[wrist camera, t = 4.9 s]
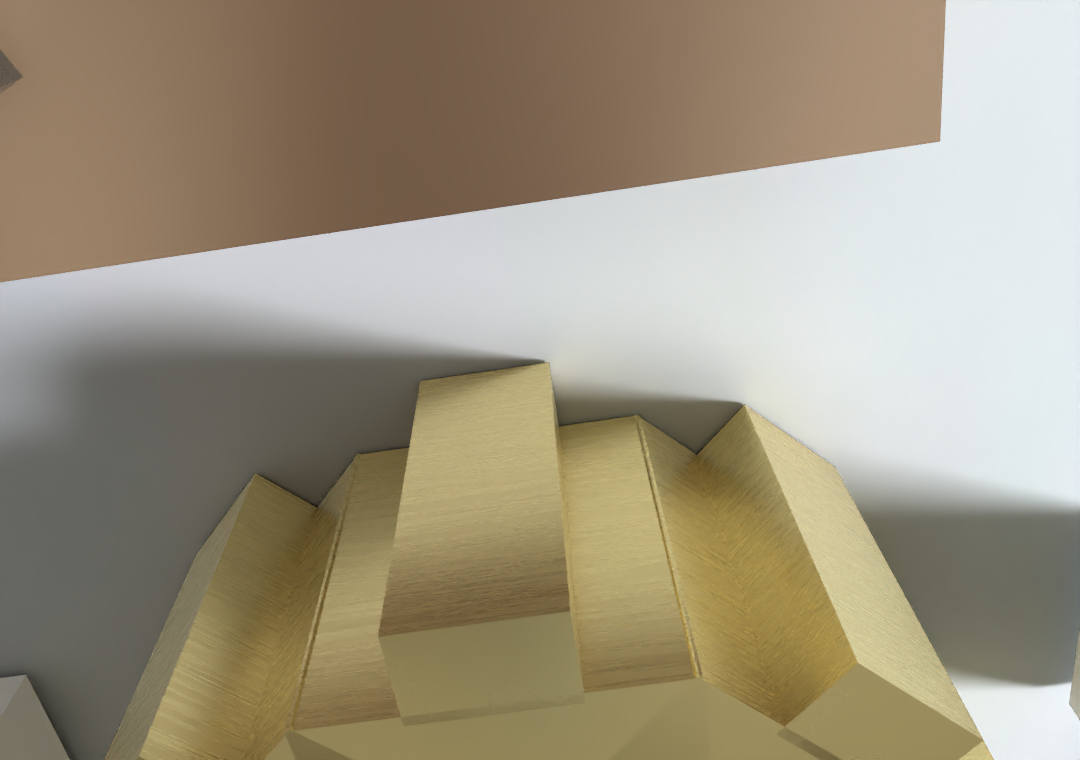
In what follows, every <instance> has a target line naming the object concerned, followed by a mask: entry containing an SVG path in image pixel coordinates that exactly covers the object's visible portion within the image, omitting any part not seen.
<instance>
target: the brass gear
mask: <svg viewBox="0 0 1080 760" xmlns="http://www.w3.org/2000/svg"><path fill="white" fill-rule="evenodd" d="M104 760H994V759H993V757H992V755H991V753H990V752H989V750H988V748H987V746H986V744H985V742H984V741H983V738H982V736H981V735H980V733H979V731H978V729H977V727H976V725H975V724H974V722H973V720H972V718H971V716H970V714H969V713H968V711H967V709H966V707H965V705H964V703H963V702H962V700H961V698H960V696H959V694H958V692H957V690H956V689H955V687H954V685H953V683H952V681H951V679H950V678H949V676H948V674H947V672H946V670H945V668H944V667H943V665H942V663H941V661H940V659H939V657H938V656H937V654H936V652H935V650H934V648H933V646H932V645H931V643H930V641H929V639H928V637H927V635H926V634H925V632H924V630H923V628H922V626H921V624H920V622H919V621H918V619H917V617H916V615H915V613H914V611H913V610H912V608H911V606H910V604H909V602H908V600H907V599H906V597H905V595H904V593H903V591H902V589H901V588H900V586H899V584H898V582H897V580H896V578H895V577H894V575H893V573H892V571H891V569H890V567H889V565H888V564H887V562H886V560H885V558H884V556H883V554H882V553H881V551H880V549H879V547H878V545H877V543H876V542H875V540H874V538H873V536H872V534H871V532H870V531H869V529H868V527H867V525H866V523H865V521H864V520H863V518H862V516H861V514H860V512H859V510H858V508H857V507H856V505H855V503H854V501H853V499H852V497H851V496H850V494H849V492H848V490H847V488H846V486H845V485H844V483H843V481H842V479H841V477H840V475H839V474H838V472H837V470H836V468H835V467H834V466H833V465H831V464H830V463H828V462H827V461H825V460H824V459H822V458H821V457H820V456H818V455H817V454H815V453H814V452H812V451H811V450H809V449H808V448H807V447H805V446H804V445H802V444H801V443H799V442H798V441H796V440H795V439H794V438H792V437H791V436H789V435H788V434H786V433H785V432H783V431H782V430H781V429H779V428H778V427H776V426H775V425H773V424H772V423H770V422H769V421H768V420H766V419H765V418H763V417H762V416H760V415H759V414H758V413H756V412H755V411H753V410H752V409H750V408H749V407H747V406H746V405H745V404H744V405H743V407H742V408H741V409H740V410H739V411H738V412H737V413H736V414H735V415H734V416H733V417H732V418H731V419H730V420H729V421H728V422H727V424H726V425H725V426H724V427H723V428H722V429H721V430H720V431H719V432H718V433H717V434H716V435H715V436H714V437H713V438H712V439H711V440H710V442H709V443H708V444H707V445H706V446H705V447H704V448H703V449H702V450H701V451H700V452H699V453H698V454H695V453H694V452H692V451H691V450H689V449H688V448H686V447H685V446H683V445H682V444H680V443H679V442H677V441H676V440H674V439H673V438H671V437H670V436H668V435H666V434H665V433H663V432H662V431H660V430H659V429H657V428H656V427H654V426H653V425H651V424H650V423H648V422H647V421H645V420H644V419H642V418H641V417H640V415H636V414H635V415H634V416H629V417H622V418H615V419H608V420H601V421H594V422H587V423H580V424H572V425H565V426H559V423H558V417H557V410H556V404H555V398H554V391H553V385H552V379H551V372H550V366H549V363H542V364H535V365H528V366H521V367H514V368H507V369H500V370H493V371H486V372H479V373H472V374H465V375H458V376H451V377H444V378H437V379H430V380H423V381H420V386H419V392H418V398H417V404H416V410H415V416H414V422H413V428H412V434H411V440H410V446H409V448H402V449H395V450H388V451H381V452H373V453H366V454H359V453H358V455H355V458H354V460H353V461H352V462H351V464H350V465H349V466H348V468H347V469H346V470H345V471H344V473H343V474H342V475H341V477H340V478H339V479H338V481H337V482H336V483H335V484H334V486H333V487H332V488H331V490H330V491H329V492H328V494H327V495H326V496H325V497H324V499H323V500H322V501H321V503H320V504H319V505H318V507H315V506H313V505H311V504H310V503H308V502H306V501H304V500H302V499H301V498H299V497H297V496H295V495H293V494H292V493H290V492H288V491H286V490H284V489H283V488H281V487H279V486H277V485H275V484H274V483H272V482H270V481H268V480H266V479H265V478H263V477H261V476H259V475H257V474H256V473H255V474H254V476H253V477H252V478H251V480H250V481H249V482H248V484H247V485H246V487H245V488H244V489H243V491H242V492H241V493H240V495H239V496H238V498H237V499H236V500H235V502H234V503H233V505H232V506H231V507H230V509H229V510H228V511H227V513H226V514H225V516H224V517H223V518H222V520H221V521H220V522H219V524H218V525H217V527H216V528H215V529H214V531H213V532H212V534H211V535H210V536H209V538H208V539H207V540H206V542H205V543H204V545H203V546H202V547H201V549H200V550H199V551H198V553H197V554H196V556H195V558H194V560H193V563H192V565H191V567H190V569H189V572H188V574H187V576H186V578H185V580H184V583H183V585H182V587H181V589H180V592H179V594H178V596H177V598H176V601H175V603H174V605H173V607H172V609H171V612H170V614H169V616H168V618H167V621H166V623H165V625H164V627H163V630H162V632H161V634H160V636H159V639H158V641H157V643H156V645H155V647H154V650H153V652H152V654H151V656H150V659H149V661H148V663H147V665H146V668H145V670H144V672H143V674H142V676H141V679H140V681H139V683H138V685H137V688H136V690H135V692H134V694H133V697H132V699H131V701H130V703H129V706H128V708H127V710H126V712H125V714H124V717H123V719H122V721H121V723H120V726H119V728H118V730H117V732H116V735H115V737H114V739H113V741H112V743H111V746H110V748H109V750H108V752H107V755H106V757H105V759H104Z"/></svg>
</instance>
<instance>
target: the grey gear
mask: <svg viewBox="0 0 1080 760" xmlns="http://www.w3.org/2000/svg"><path fill="white" fill-rule="evenodd" d="M21 78H23V76H22V75H21V74H20V73H19V71H18V70H17V69H16V68H15V67H14V65H13V64H12V63H11V62H10V61H9V59H8V58H7V57H6V56H5V54H4V53H3V52H2V51H1V50H0V93H2V92H3V91H4V90H6V89H7V88H9V87H10V86H11V85H13V84H14V83H16V82H17V81H18V80H20V79H21Z"/></svg>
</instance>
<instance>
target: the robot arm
mask: <svg viewBox="0 0 1080 760" xmlns="http://www.w3.org/2000/svg"><path fill="white" fill-rule="evenodd" d="M1069 704H1070V706H1071V707H1072V709H1073V710H1074V712H1075V714H1076V715H1077V717H1078V718H1079V720H1080V629H1079V636H1078V643H1077V650H1076V658H1075V665H1074V672H1073V679H1072V686H1071V693H1070V701H1069ZM0 760H70V759H69V757H68V755H67V753H66V751H65V749H64V747H63V745H62V743H61V741H60V739H59V737H58V735H57V733H56V732H55V730H54V728H53V726H52V724H51V722H50V720H49V718H48V716H47V714H46V712H45V710H44V708H43V706H42V704H41V703H40V701H39V699H38V697H37V695H36V693H35V691H34V689H33V687H32V685H31V683H30V681H29V679H28V677H27V675H20V676H12V677H4V678H0Z"/></svg>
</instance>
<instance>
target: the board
mask: <svg viewBox="0 0 1080 760" xmlns="http://www.w3.org/2000/svg"><path fill="white" fill-rule="evenodd" d="M945 7H946V0H0V50H1V51H2V52H3V53H4V54H5V56H6V57H7V58H8V59H9V61H10V62H11V63H12V64H13V65H14V67H15V68H16V69H17V70H18V71H19V73H20V74H21V75H22V76H23V78H21V79H20V80H18V81H17V82H16V83H14V84H13V85H11V86H10V87H9V88H7V89H6V90H4V91H3V92H2V93H0V282H5V281H12V280H19V279H25V278H32V277H39V276H45V275H52V274H59V273H65V272H72V271H79V270H85V269H92V268H99V267H105V266H112V265H119V264H125V263H132V262H139V261H145V260H152V259H159V258H165V257H172V256H179V255H185V254H192V253H199V252H205V251H212V250H219V249H225V248H232V247H239V246H245V245H252V244H259V243H265V242H272V241H279V240H285V239H292V238H299V237H305V236H312V235H319V234H325V233H332V232H339V231H345V230H352V229H359V228H365V227H372V226H379V225H385V224H392V223H399V222H406V221H412V220H419V219H426V218H432V217H439V216H446V215H452V214H459V213H466V212H472V211H479V210H486V209H492V208H499V207H506V206H512V205H519V204H526V203H532V202H539V201H546V200H552V199H559V198H566V197H572V196H579V195H586V194H592V193H599V192H606V191H612V190H619V189H626V188H632V187H639V186H646V185H652V184H659V183H666V182H672V181H679V180H686V179H692V178H699V177H706V176H712V175H719V174H726V173H732V172H739V171H746V170H752V169H759V168H766V167H772V166H779V165H786V164H792V163H799V162H806V161H812V160H819V159H826V158H832V157H839V156H846V155H852V154H859V153H866V152H872V151H879V150H886V149H892V148H899V147H906V146H913V145H919V144H926V143H933V142H939V141H940V127H941V103H942V79H943V55H944V31H945Z"/></svg>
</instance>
